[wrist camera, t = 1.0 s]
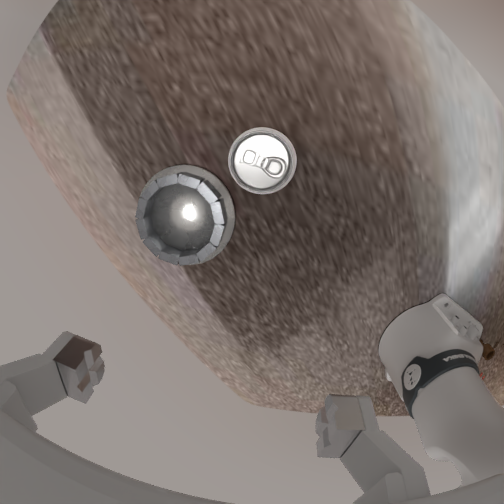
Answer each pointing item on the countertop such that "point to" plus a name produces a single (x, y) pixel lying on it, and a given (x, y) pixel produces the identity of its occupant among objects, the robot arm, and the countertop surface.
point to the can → (262, 160)
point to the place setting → (487, 350)
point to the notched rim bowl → (185, 215)
